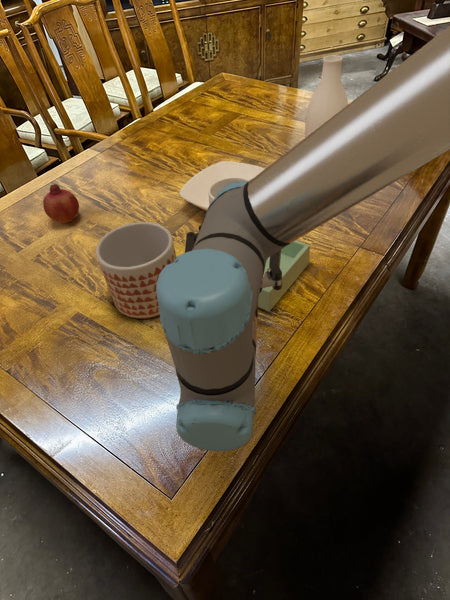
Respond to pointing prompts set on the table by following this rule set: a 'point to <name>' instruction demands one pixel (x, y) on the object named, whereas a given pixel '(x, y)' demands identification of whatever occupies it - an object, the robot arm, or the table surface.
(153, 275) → the planter
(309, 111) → the bottle
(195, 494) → the table surface
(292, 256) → the bin
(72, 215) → the fruit
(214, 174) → the bowl
